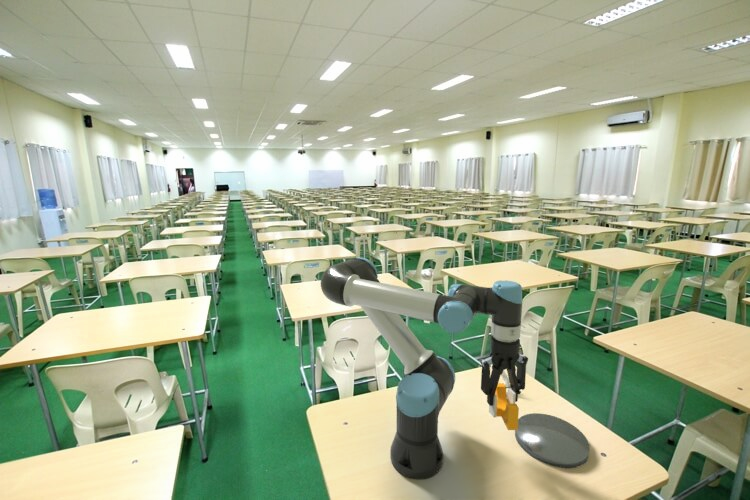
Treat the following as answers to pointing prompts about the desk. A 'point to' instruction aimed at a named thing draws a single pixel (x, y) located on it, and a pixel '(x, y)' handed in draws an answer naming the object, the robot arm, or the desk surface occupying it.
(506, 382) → the white ring with handle
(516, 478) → the desk surface
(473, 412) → the desk surface
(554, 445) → the dark grey flat disc
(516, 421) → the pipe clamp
